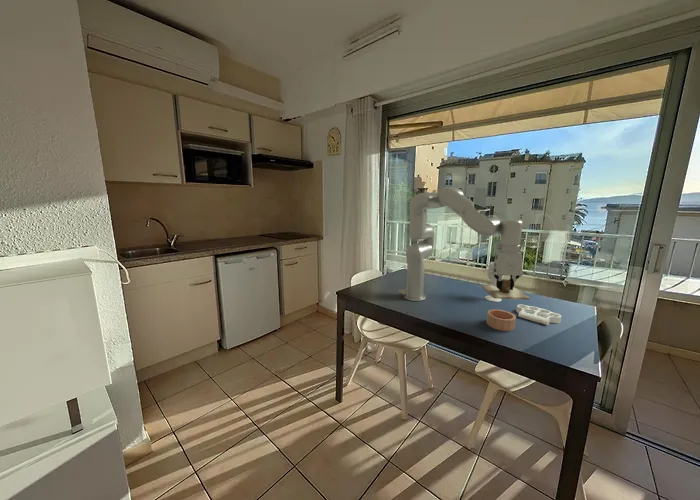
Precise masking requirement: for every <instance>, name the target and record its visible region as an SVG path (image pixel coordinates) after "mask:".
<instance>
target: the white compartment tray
mask: <svg viewBox="0 0 700 500" xmlns="http://www.w3.org/2000/svg"><path fill="white" fill-rule="evenodd" d="M515 310H516V313H518V314H517V317H518V318H521V319H524V320H529V321H531V322H534V323H538V324H541V325H544V326H548V325H549V324H551V323H552V324H560V323H561V321H562V315H561V314H560V313H556V312H553V311H550V310H548V309H545V308H540V307H537V306H533V305H532V306H531V305H525V304H521V303H520V304H517V305H516V309H515Z"/></svg>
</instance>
